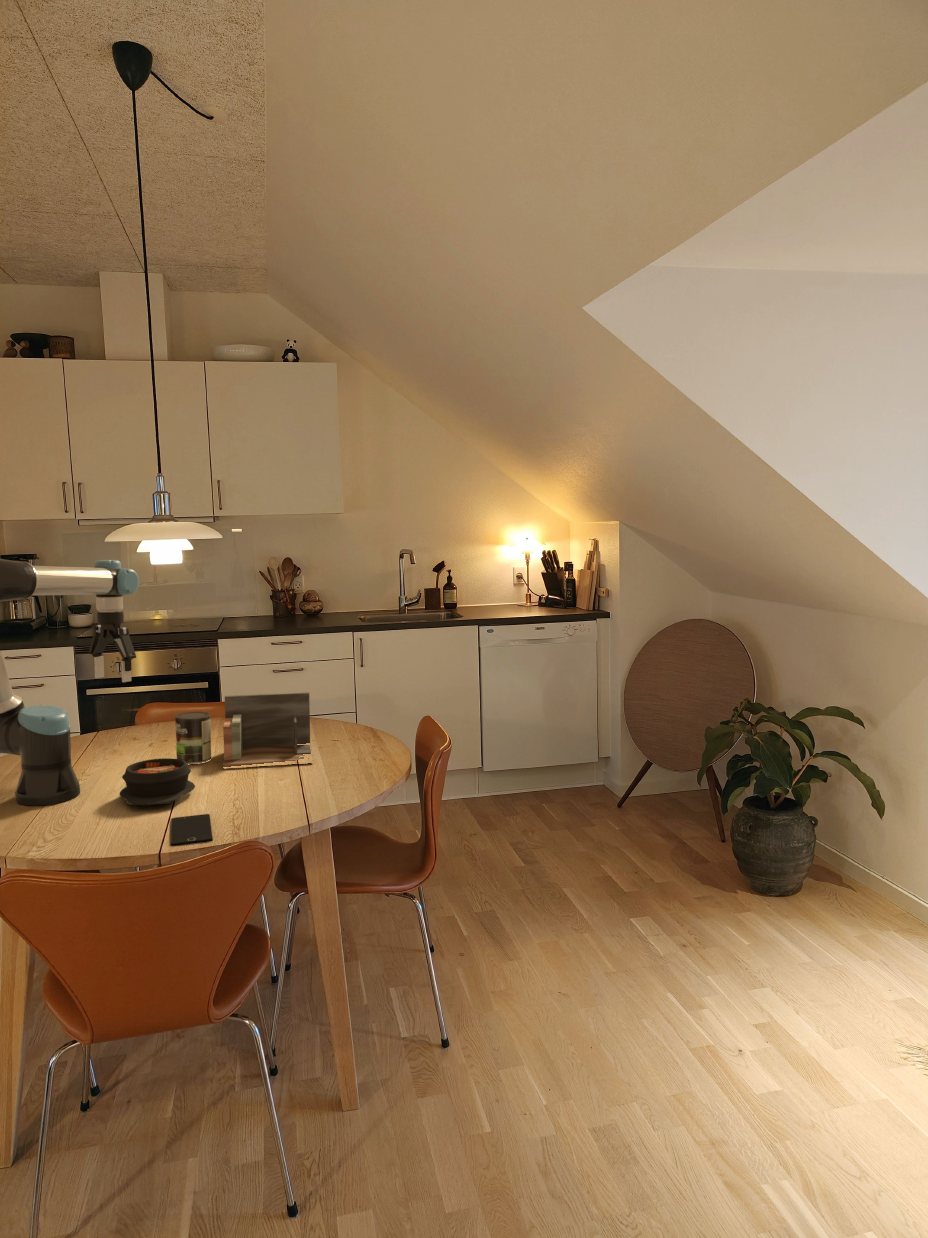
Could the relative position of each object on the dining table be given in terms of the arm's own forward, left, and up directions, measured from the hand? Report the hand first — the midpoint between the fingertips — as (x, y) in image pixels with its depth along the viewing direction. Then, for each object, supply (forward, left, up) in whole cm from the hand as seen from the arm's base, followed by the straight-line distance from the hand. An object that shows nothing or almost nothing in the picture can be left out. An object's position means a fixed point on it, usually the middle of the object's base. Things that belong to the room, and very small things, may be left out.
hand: (113, 679), depth 254 cm
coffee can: (-11, -24, -24) cm, 36 cm away
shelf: (-13, -46, -24) cm, 54 cm away
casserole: (-45, -18, -24) cm, 54 cm away
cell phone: (-73, -29, -25) cm, 82 cm away
